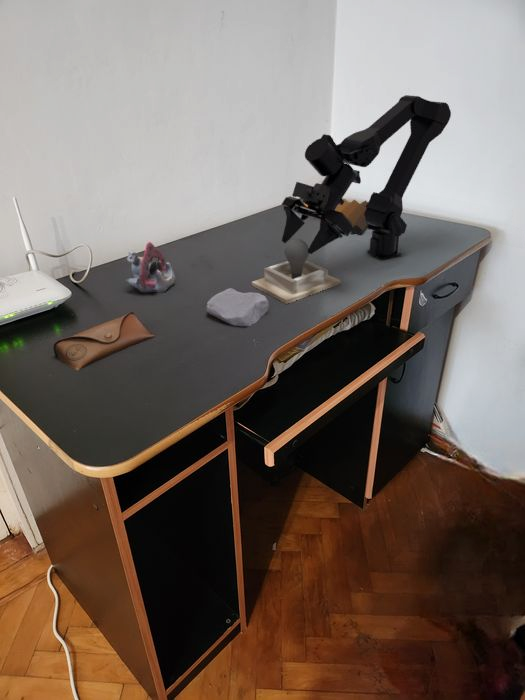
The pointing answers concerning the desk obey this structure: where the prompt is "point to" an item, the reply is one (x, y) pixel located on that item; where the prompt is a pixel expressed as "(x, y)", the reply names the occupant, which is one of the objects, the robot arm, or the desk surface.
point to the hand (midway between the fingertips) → (295, 247)
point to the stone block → (238, 307)
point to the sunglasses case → (101, 341)
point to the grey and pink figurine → (150, 271)
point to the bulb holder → (294, 282)
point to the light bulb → (296, 256)
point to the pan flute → (353, 214)
